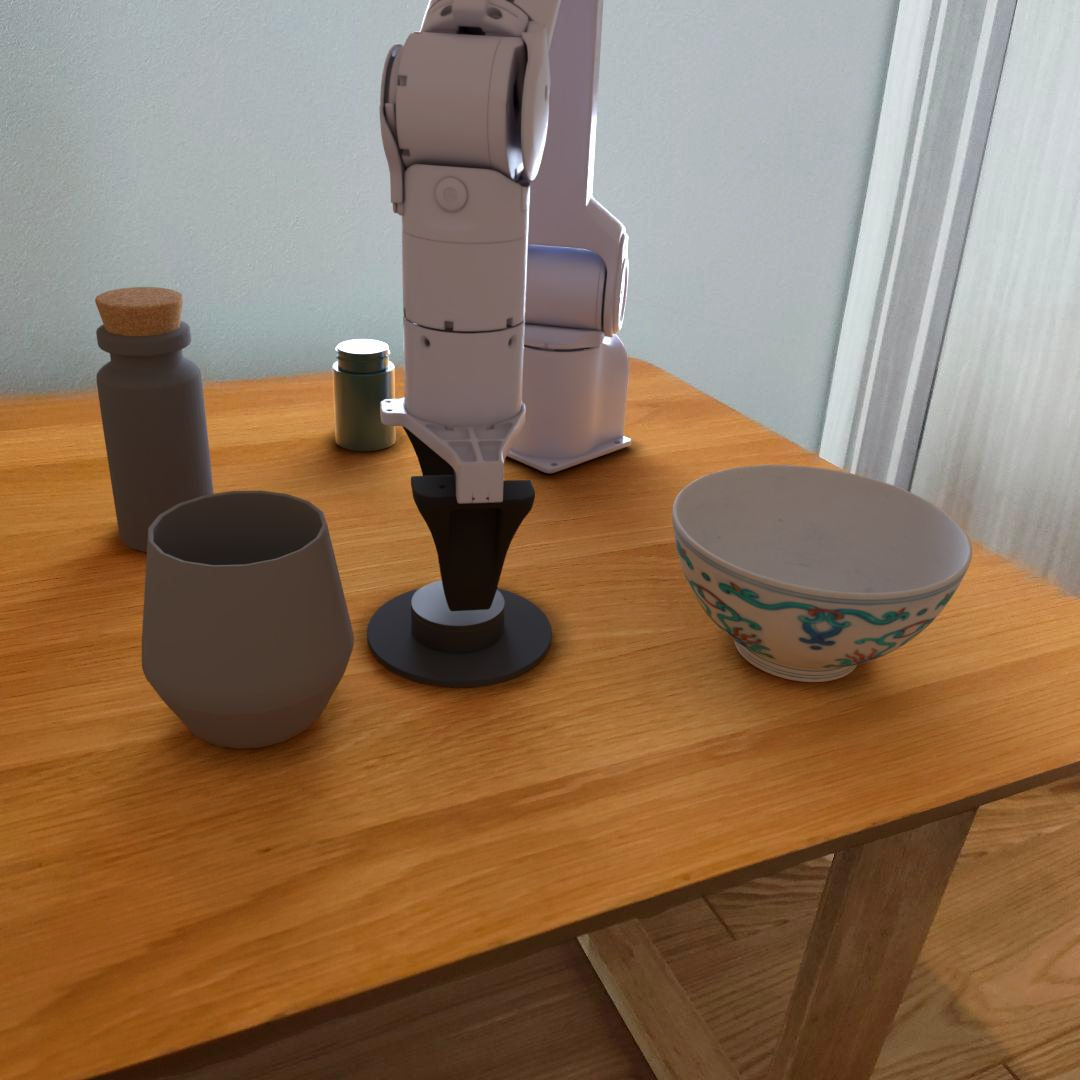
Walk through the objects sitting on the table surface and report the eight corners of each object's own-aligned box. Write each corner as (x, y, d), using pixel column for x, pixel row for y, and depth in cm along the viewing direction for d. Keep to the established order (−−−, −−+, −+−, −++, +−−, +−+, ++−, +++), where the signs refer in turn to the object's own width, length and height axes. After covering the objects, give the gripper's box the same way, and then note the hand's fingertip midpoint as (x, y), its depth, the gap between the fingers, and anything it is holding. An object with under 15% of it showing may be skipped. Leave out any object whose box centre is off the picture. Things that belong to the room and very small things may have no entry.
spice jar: (370, 425, 85) (367, 333, 82) (407, 441, 82) (406, 347, 79) (323, 439, 82) (318, 344, 79) (360, 456, 79) (357, 359, 76)
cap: (491, 600, 60) (492, 574, 60) (516, 646, 56) (517, 619, 55) (403, 610, 59) (402, 584, 58) (421, 659, 55) (421, 631, 54)
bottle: (189, 559, 64) (160, 314, 57) (100, 547, 65) (61, 303, 58) (233, 519, 69) (211, 289, 62) (150, 507, 70) (120, 279, 63)
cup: (191, 653, 55) (169, 476, 50) (370, 663, 55) (365, 487, 50) (120, 771, 46) (86, 571, 42) (333, 784, 46) (322, 584, 42)
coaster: (468, 572, 64) (468, 566, 64) (589, 639, 58) (590, 633, 58) (329, 629, 58) (329, 623, 57) (449, 712, 51) (449, 705, 51)
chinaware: (994, 722, 53) (1034, 587, 49) (705, 742, 50) (725, 601, 47) (864, 576, 66) (888, 461, 62) (630, 586, 63) (641, 467, 60)
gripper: (373, 278, 55) (379, 512, 62) (384, 365, 43) (391, 648, 49) (506, 278, 57) (499, 508, 63) (556, 363, 44) (541, 640, 50)
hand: (461, 569), depth 56 cm, fingers open, 7 cm apart
